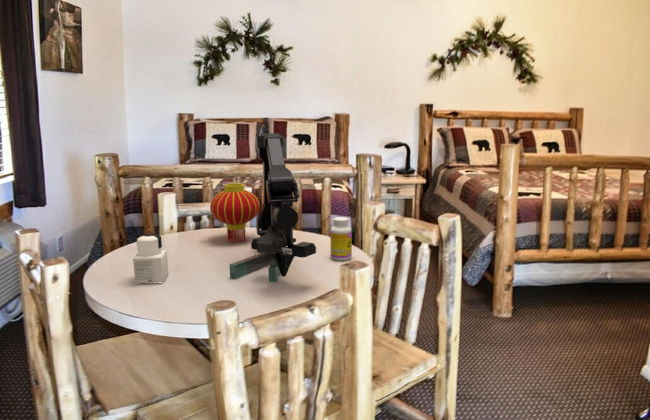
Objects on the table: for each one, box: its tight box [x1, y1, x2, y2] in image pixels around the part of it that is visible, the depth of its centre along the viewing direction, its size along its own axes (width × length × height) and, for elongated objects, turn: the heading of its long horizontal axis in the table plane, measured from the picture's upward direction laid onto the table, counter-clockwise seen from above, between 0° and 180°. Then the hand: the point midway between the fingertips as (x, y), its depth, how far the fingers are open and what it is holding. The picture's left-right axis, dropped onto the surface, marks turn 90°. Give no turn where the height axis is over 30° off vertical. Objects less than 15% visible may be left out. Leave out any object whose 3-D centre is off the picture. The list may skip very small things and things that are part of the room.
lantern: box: [209, 164, 261, 244], centre depth 195 cm, size 17×17×30 cm
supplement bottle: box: [330, 216, 353, 262], centre depth 174 cm, size 7×7×13 cm
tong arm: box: [267, 259, 281, 283], centre depth 162 cm, size 2×18×4 cm, turn 174°
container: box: [132, 233, 169, 283], centre depth 156 cm, size 8×8×13 cm
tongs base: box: [228, 252, 274, 280], centre depth 165 cm, size 4×22×4 cm, turn 145°
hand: (283, 276), depth 154 cm, fingers closed
